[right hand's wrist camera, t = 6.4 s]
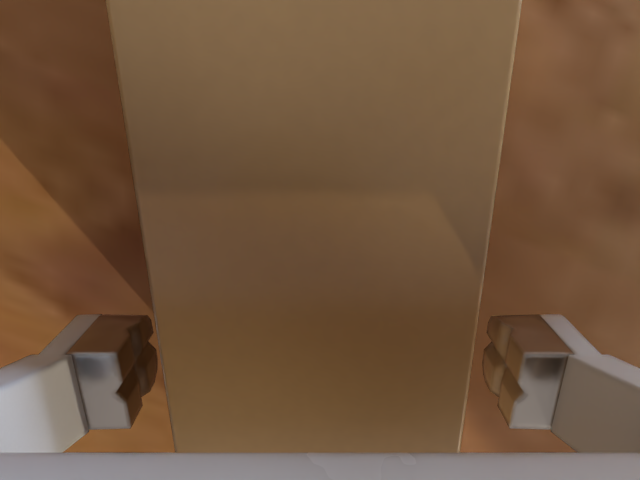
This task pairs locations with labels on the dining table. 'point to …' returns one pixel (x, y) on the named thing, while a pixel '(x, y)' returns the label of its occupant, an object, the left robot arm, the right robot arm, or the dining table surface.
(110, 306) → the dining table surface
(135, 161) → the beam
